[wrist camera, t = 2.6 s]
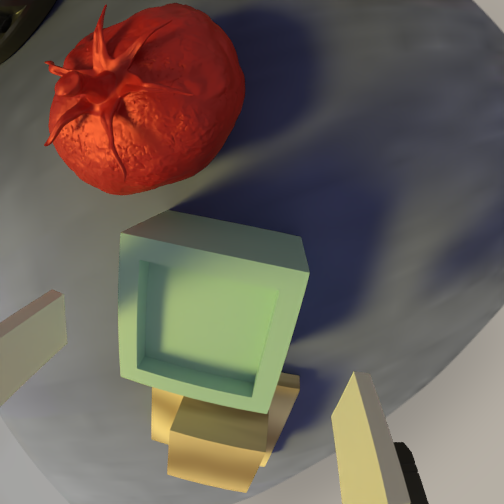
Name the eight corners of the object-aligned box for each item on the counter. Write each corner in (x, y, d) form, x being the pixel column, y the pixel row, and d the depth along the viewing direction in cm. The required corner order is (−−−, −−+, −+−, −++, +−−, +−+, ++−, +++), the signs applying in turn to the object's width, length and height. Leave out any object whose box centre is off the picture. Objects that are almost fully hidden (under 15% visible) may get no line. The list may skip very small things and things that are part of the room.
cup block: (168, 209, 18) (120, 232, 12) (300, 236, 18) (309, 272, 12) (158, 323, 21) (120, 376, 15) (271, 349, 20) (267, 414, 15)
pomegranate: (283, 116, 16) (295, 72, 8) (152, 220, 19) (64, 274, 10) (183, 6, 14) (125, -76, 6) (70, 110, 17) (-34, 99, 8)
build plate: (161, 342, 21) (131, 390, 16) (299, 375, 21) (301, 432, 15) (156, 427, 24) (136, 472, 19) (265, 454, 24) (261, 503, 18)
